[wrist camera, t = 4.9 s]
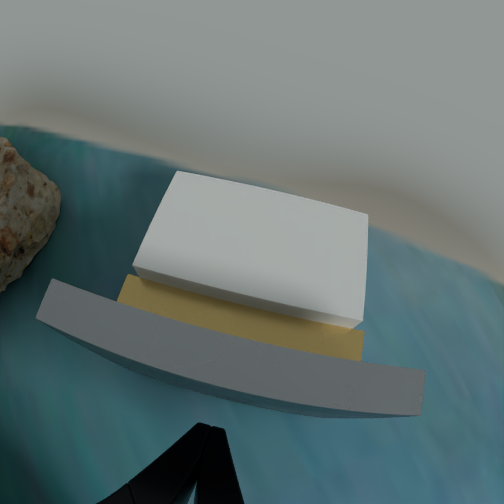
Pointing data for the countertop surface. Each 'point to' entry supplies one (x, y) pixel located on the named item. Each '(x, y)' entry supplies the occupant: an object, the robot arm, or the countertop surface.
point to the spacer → (242, 319)
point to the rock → (23, 212)
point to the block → (258, 249)
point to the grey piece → (230, 361)
